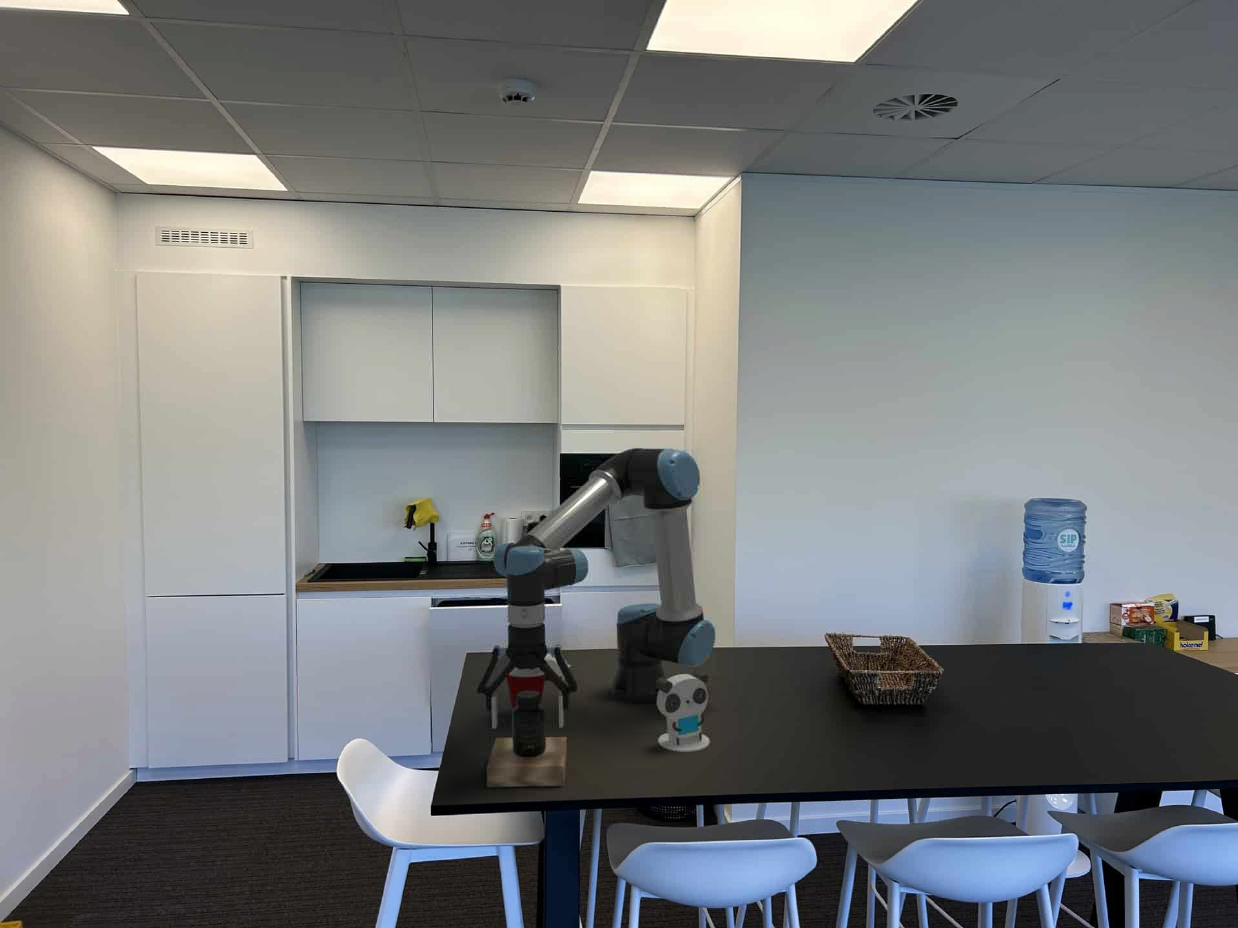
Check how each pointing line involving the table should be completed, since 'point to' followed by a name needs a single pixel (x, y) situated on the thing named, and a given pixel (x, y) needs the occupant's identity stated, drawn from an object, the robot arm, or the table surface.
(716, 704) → the table surface
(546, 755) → the oak block
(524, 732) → the supplement bottle
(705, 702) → the disc-based toy figure
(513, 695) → the plastic cup
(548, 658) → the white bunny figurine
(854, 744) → the table surface
